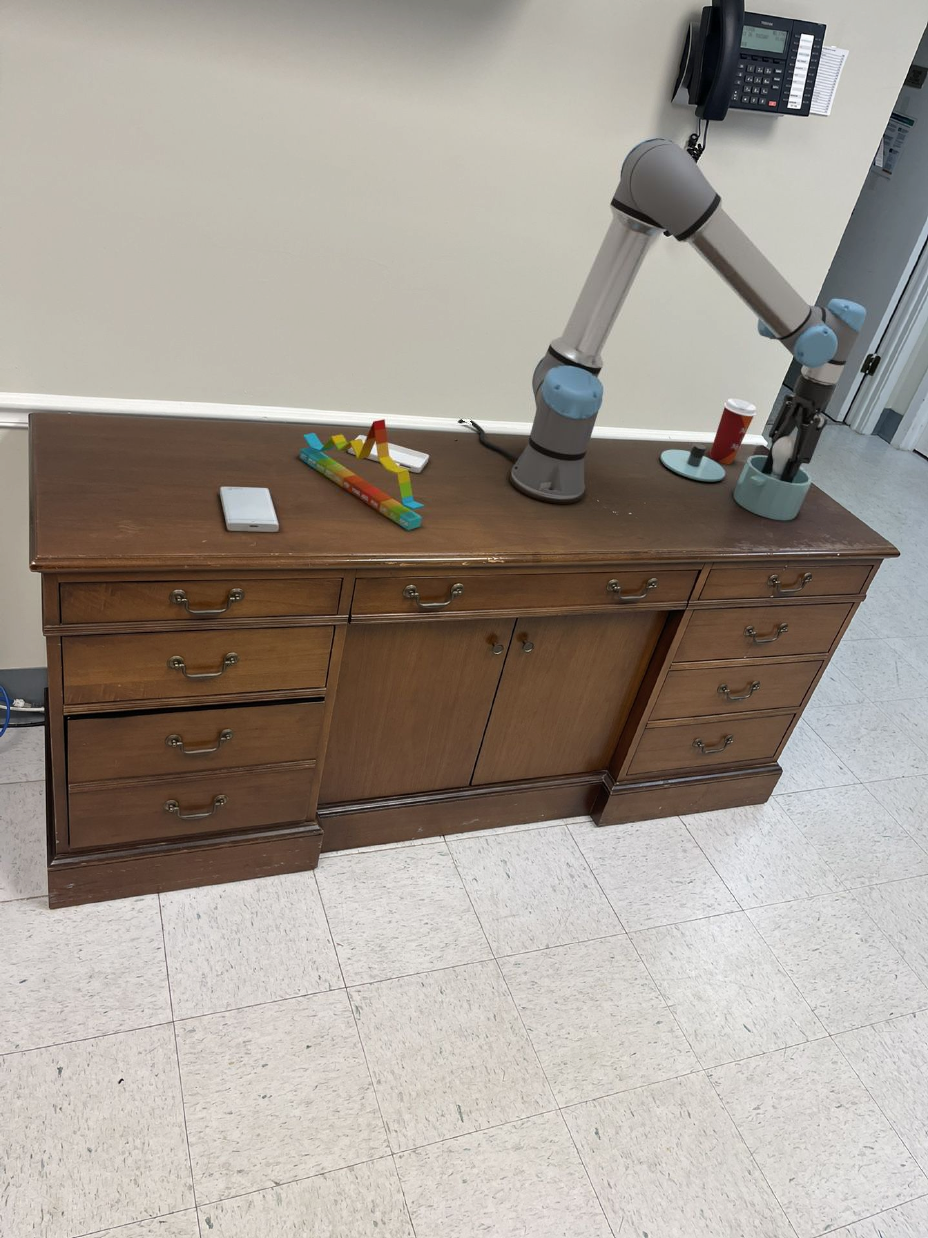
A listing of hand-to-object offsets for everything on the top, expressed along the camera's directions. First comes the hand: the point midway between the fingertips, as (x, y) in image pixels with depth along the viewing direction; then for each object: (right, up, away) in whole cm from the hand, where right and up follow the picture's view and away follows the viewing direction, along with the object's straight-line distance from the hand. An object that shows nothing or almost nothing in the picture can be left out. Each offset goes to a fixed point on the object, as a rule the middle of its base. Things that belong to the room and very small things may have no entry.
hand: (775, 480), depth 199 cm
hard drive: (-104, -13, -46) cm, 114 cm away
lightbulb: (0, -1, +1) cm, 1 cm away
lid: (-15, +5, +12) cm, 20 cm away
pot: (-1, -5, +3) cm, 6 cm away
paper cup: (-6, +8, +22) cm, 24 cm away
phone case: (-83, +2, -16) cm, 85 cm away
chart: (-87, -7, -31) cm, 93 cm away
